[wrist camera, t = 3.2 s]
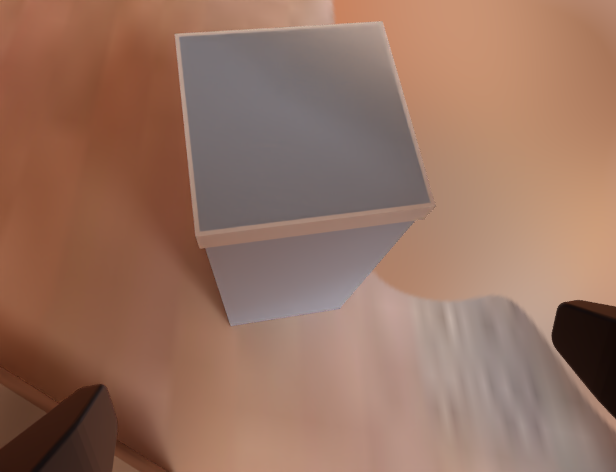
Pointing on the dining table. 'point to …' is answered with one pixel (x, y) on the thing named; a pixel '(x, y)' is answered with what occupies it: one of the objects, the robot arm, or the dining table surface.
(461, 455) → the dining table surface
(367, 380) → the dining table surface
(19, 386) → the brown square tray
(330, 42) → the tin
